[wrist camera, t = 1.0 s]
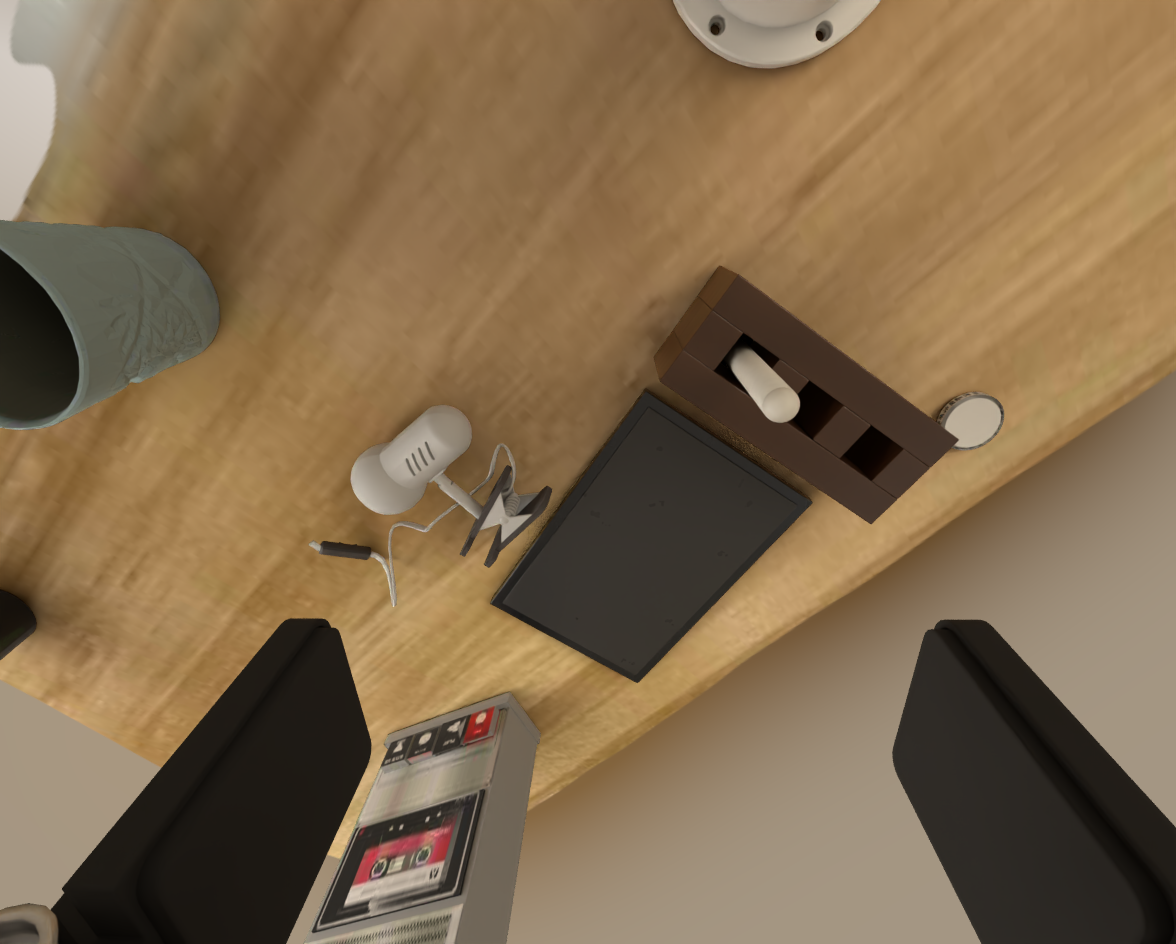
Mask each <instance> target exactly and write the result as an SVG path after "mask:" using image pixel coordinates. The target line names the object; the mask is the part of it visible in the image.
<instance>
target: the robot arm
mask: <svg viewBox="0 0 1176 944" xmlns="http://www.w3.org/2000/svg"><path fill="white" fill-rule="evenodd" d="M880 1H881V0H673V3H674V5H675V7H676V9H677V12H678V14H679V15H680V17H681V18H682V19H683V21H684V22H685V24H686V25H687V26H688V28H689V29H690V31H691V32H692V34H693V35H694V36H696V37H697V38H698V39H699V40H700V41H701V42H702V43H703V44H704V45H705V46H706V47H707V48H708V49H709V50H711V51H713V52H714V53H716V54H718V55H720V56H721V57H723V58H725V59H726V60H728V61H731V62H734V63H737V64H741V65H744V66H747V67H753V68H770V69H773V68H779V67H785V66H790V65H795V64H798V63H800V62H803V61H806V60H808V59H811V58H813V57H816V56H818V55H820V54H821V53H823V52H824V51H826V50H827V49H829V48H831V47H832V46H834V45H835V44H837V43H839V42H840V41H841V40H842V39H843V38H845V37H846V36H847V35H848V34H849V33H851V32H852V31H853V30H855V29H856V28H857V27H858V26H859V25H860V24H861V23H862V21H863V20H864V19H865V18H866V17H867V16H868V15H869V14H870V13H871V12H872V11H873V10H874V9H875V8H876V6H877V5H878V4H879V2H880ZM712 25H717V26H718V27H719V33H718V34H717V35H714V34H712V33H711V29H710V28H711V26H712ZM816 31H821V32H822V33H823V38H822V40H821V41H818V40H817V38H816V36H815V34H816ZM892 753H893V763H894V767H895V770H896V773H897V775H898V778H899V780H900V782H901V784H902V786H903V788H904V789H905V792H906V794H907V795H908V798H909V800H910V802H911V804H912V805H913V808H914V809H915V812H916V813H917V816H918V818H919V820H920V821H921V824H922V826H923V828H924V830H925V832H926V834H927V835H928V838H929V840H930V842H931V844H932V846H933V848H934V850H935V852H936V854H937V856H938V857H939V860H940V862H941V864H942V866H943V867H944V870H945V872H946V874H947V876H948V878H949V880H950V882H951V883H952V886H953V888H954V890H955V892H956V894H957V896H958V898H959V900H960V902H961V904H962V906H963V908H964V910H965V912H966V914H967V916H968V918H969V920H970V922H971V924H972V926H973V928H974V930H975V932H976V934H977V936H978V938H979V940H980V942H981V944H1176V827H1175V826H1174V825H1173V824H1172V823H1171V822H1170V821H1169V819H1168V818H1167V817H1166V816H1165V815H1164V814H1163V813H1162V812H1161V811H1160V810H1159V809H1158V807H1156V805H1155V804H1154V803H1153V802H1152V801H1151V800H1150V799H1149V798H1148V796H1146V794H1145V793H1144V792H1143V791H1142V790H1141V789H1140V788H1139V787H1138V786H1137V785H1136V783H1135V782H1134V781H1133V780H1131V778H1130V777H1129V776H1128V775H1127V774H1126V773H1125V771H1124V770H1123V769H1122V768H1121V767H1120V766H1119V765H1118V764H1117V763H1116V761H1115V760H1114V759H1113V758H1112V757H1111V756H1110V755H1109V754H1108V753H1107V752H1106V751H1105V749H1104V748H1103V747H1102V746H1101V745H1100V744H1099V743H1098V742H1097V741H1096V740H1095V739H1094V737H1093V736H1092V735H1091V734H1090V733H1089V732H1088V731H1087V730H1086V729H1085V728H1084V726H1083V725H1082V724H1081V723H1080V722H1079V721H1078V720H1077V719H1076V718H1075V717H1074V715H1073V714H1072V713H1071V712H1070V711H1069V710H1068V709H1067V708H1066V707H1065V706H1064V705H1063V703H1062V702H1061V701H1060V700H1059V699H1058V698H1057V697H1056V696H1055V695H1054V694H1053V692H1052V691H1051V690H1050V689H1049V688H1048V687H1047V686H1046V685H1045V684H1044V683H1043V682H1042V680H1041V679H1040V678H1039V677H1038V676H1037V675H1036V674H1035V673H1034V672H1033V671H1032V669H1031V668H1030V667H1029V666H1028V665H1027V664H1026V663H1025V662H1024V661H1023V660H1022V659H1021V657H1020V656H1018V654H1017V653H1016V652H1015V651H1014V650H1013V649H1012V648H1011V646H1010V645H1009V644H1008V643H1007V642H1006V641H1005V640H1004V639H1003V638H1002V637H1001V636H1000V634H999V633H998V632H997V631H996V630H995V629H994V628H993V627H992V626H991V625H990V624H989V623H987V622H986V621H983V620H940V621H939V622H938V623H937V624H936V626H935V628H934V629H931V630H928V631H927V632H926V633H925V635H924V638H923V641H922V645H921V649H920V652H919V656H918V659H917V663H916V667H915V670H914V674H913V678H912V681H911V685H910V688H909V693H908V696H907V699H906V703H905V707H904V710H903V714H902V718H901V721H900V725H899V728H898V732H897V736H896V739H895V743H894V747H893V752H892ZM370 755H371V739H370V736H369V732H368V729H367V725H366V722H365V718H364V715H363V712H362V708H361V705H360V701H359V698H358V694H357V691H356V687H355V684H354V681H353V677H352V674H351V670H350V667H349V663H348V660H347V656H346V653H345V649H344V646H343V643H342V639H341V636H340V633H339V631H338V630H337V629H336V628H331V626H330V624H329V622H328V621H327V620H326V619H288V620H285V621H284V622H283V623H282V624H281V625H280V626H279V627H278V628H277V629H276V631H275V632H274V633H273V634H272V635H271V637H270V638H269V639H268V640H267V642H266V643H265V644H264V645H263V646H262V648H261V649H260V650H259V651H258V652H257V654H256V655H255V656H254V657H253V658H252V660H251V661H250V662H249V663H248V664H247V666H246V667H245V668H244V669H243V670H242V672H241V673H240V674H239V675H238V676H237V678H236V679H235V680H234V681H233V683H232V684H231V685H230V686H229V687H228V689H227V690H226V691H225V692H224V693H223V695H222V696H221V697H220V698H219V699H218V701H217V702H216V703H215V704H214V705H213V707H212V708H211V709H210V710H209V711H208V713H207V714H206V715H205V716H204V718H203V719H202V720H201V721H200V722H199V724H198V725H197V726H196V727H195V728H194V730H193V731H192V732H191V733H190V734H189V736H188V737H187V738H186V739H185V740H184V742H183V743H182V744H181V745H180V746H179V748H178V749H177V750H176V751H175V752H174V754H173V755H172V756H171V757H170V759H169V760H168V761H167V762H166V763H165V765H164V766H163V767H162V768H161V769H160V771H159V772H158V773H157V774H156V775H155V777H154V778H153V779H152V780H151V782H150V783H149V784H148V785H147V786H146V787H145V789H144V790H143V791H142V792H141V794H140V795H139V796H138V797H137V798H136V800H135V801H134V802H133V803H132V804H131V806H130V807H129V808H128V809H127V810H126V812H125V813H124V814H123V815H122V816H121V818H120V819H119V820H118V821H117V822H116V824H115V825H114V826H113V827H112V829H111V830H110V831H109V832H108V833H107V835H106V836H105V837H104V838H103V839H102V841H101V842H100V843H99V844H98V845H97V847H96V848H95V849H94V850H93V851H92V853H91V854H90V855H89V856H88V857H87V859H86V860H85V861H84V862H83V863H82V865H81V866H80V867H79V868H78V870H77V871H76V872H75V873H74V874H73V876H72V877H71V878H70V879H69V881H68V882H67V883H66V884H65V885H64V887H63V888H62V890H63V891H64V894H63V896H62V897H61V898H60V899H59V900H58V901H57V903H56V904H55V905H54V906H53V908H52V909H51V910H49V909H48V908H47V907H46V906H43V905H37V904H30V903H28V904H22V905H18V906H12V907H7V908H4V909H2V910H0V944H286V943H287V941H288V938H289V936H290V933H291V932H292V929H293V927H294V925H295V923H296V921H297V919H298V916H299V914H300V912H301V910H302V908H303V906H304V903H305V901H306V899H307V897H308V895H309V892H310V890H311V888H312V886H313V884H314V881H315V879H316V877H317V875H318V873H319V871H320V868H321V866H322V864H323V862H324V860H325V857H326V855H327V853H328V851H329V849H330V846H331V844H332V842H333V840H334V838H335V836H336V833H337V831H338V829H339V827H340V825H341V822H342V820H343V818H344V816H345V814H346V812H347V809H348V807H349V805H350V803H351V801H352V798H353V796H354V794H355V792H356V790H357V787H358V785H359V783H360V781H361V779H362V777H363V774H364V772H365V770H366V768H367V765H368V763H369V759H370Z"/></svg>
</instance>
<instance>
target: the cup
mask: <svg viewBox="0 0 1176 944" xmlns="http://www.w3.org/2000/svg"><path fill="white" fill-rule="evenodd" d="M35 629H36V619H35V617H34V614H33V612H32V611H31V610H30V609H29V607H28V606H27V605H26V604H25V603H24V602H23V601H21V600H20V599H18V598H17V597H16V596H14V595H12V594H10V593H8V592H5V591H2V590H0V660H1V659H2V658H4V657H5V656H6V655H7V654H8V653H10V652H11V651H12V650H13V649H14V648H15V647H17V646H18V645H19V644H20V643H21V642H23V641H24V640H25V639H26V638H27V637H29V636H30V635H31V634H32V633H33V632H34V630H35Z"/></svg>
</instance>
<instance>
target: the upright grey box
mask: <svg viewBox="0 0 1176 944" xmlns="http://www.w3.org/2000/svg"><path fill="white" fill-rule="evenodd" d="M540 736H541V733H540V732H539V730H538V729H537V727H536V726H535V725H534V723H533V722H532V721H531V719H530V718H529V717H528V715H527V714H526V713H525V711H524V710H523V709H522V707H521V706H520V705H519V703H518V702H517V701H516V699H515V698H514V697H513V695H512V694H511V693H510V692H508V693H505V694H502V695H499V696H496V697H494V698H491V699H488V700H485V701H482V702H479V703H476V704H474V705H471V706H468V707H465V708H462V709H459V710H457V711H454V712H451V713H448V714H445V715H442V716H439V717H437V718H434V719H431V720H428V721H425V722H422V723H420V724H417V725H414V726H411V727H408V728H405V729H402V730H400V731H397V732H394V733H391V734H388V736H387V738H386V740H385V743H384V745H385V747H386V748H387V749H388V751H387V753H386V755H385V758H384V760H383V762H382V764H381V767H380V769H379V771H378V774H377V776H376V778H375V781H374V783H373V785H372V787H371V790H370V792H369V794H368V797H367V799H366V801H365V804H364V806H363V808H362V811H361V813H360V815H359V817H358V820H357V822H356V824H355V827H354V829H353V831H352V834H351V836H350V838H349V840H348V843H347V845H346V847H345V850H344V852H343V854H342V857H341V859H340V861H339V864H338V866H337V868H336V870H335V873H334V875H333V878H332V880H331V882H330V884H329V887H328V889H327V891H326V894H325V896H324V898H323V900H322V903H321V905H320V907H319V910H318V912H317V915H316V916H315V919H314V921H313V924H312V926H311V928H310V930H309V933H308V935H307V937H306V940H305V942H304V944H506V942H507V935H508V929H509V922H510V916H511V909H512V903H513V896H514V889H515V884H516V877H517V871H518V864H519V857H520V852H521V845H522V839H523V832H524V825H525V819H526V813H527V806H528V800H529V794H530V787H531V781H532V774H533V768H534V761H535V755H536V748H537V744H539V743H540Z"/></svg>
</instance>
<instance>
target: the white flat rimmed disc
mask: <svg viewBox="0 0 1176 944" xmlns="http://www.w3.org/2000/svg"><path fill="white" fill-rule="evenodd" d="M1003 421H1004V410H1003V407H1002V405H1001V403H1000V402H999V401H998V400H997V399H995V398H994V397H992V396H990V395H988V394H985V393H981V392H970V393H965V394H962V395H960V396H958V397H956V398H954V399H953V400H951V401H950V402H949V403H948V404H947V405H946V406H945V407H944V408H943V410H942V411H941V413H940V414H939V417H938V420H937V423H938V424H939V425H941V426H942V427H943V428H945V429H946V430H947V431H949V432H950V433H951V434H953V435H954V436H955V437H957V438H958V439H959V441H958V442H957V443H956V444H955V445H954V446H953V447H952V448H954V449H957V450H972V449H976V448H979V447H981V446H983V445H985V444H986V443H988V442H989V441H991V440H992V439H993V438H994V437H995V436H996V435H997V433H998V432H999V430H1000V429H1001V427H1002V424H1003Z"/></svg>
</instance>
